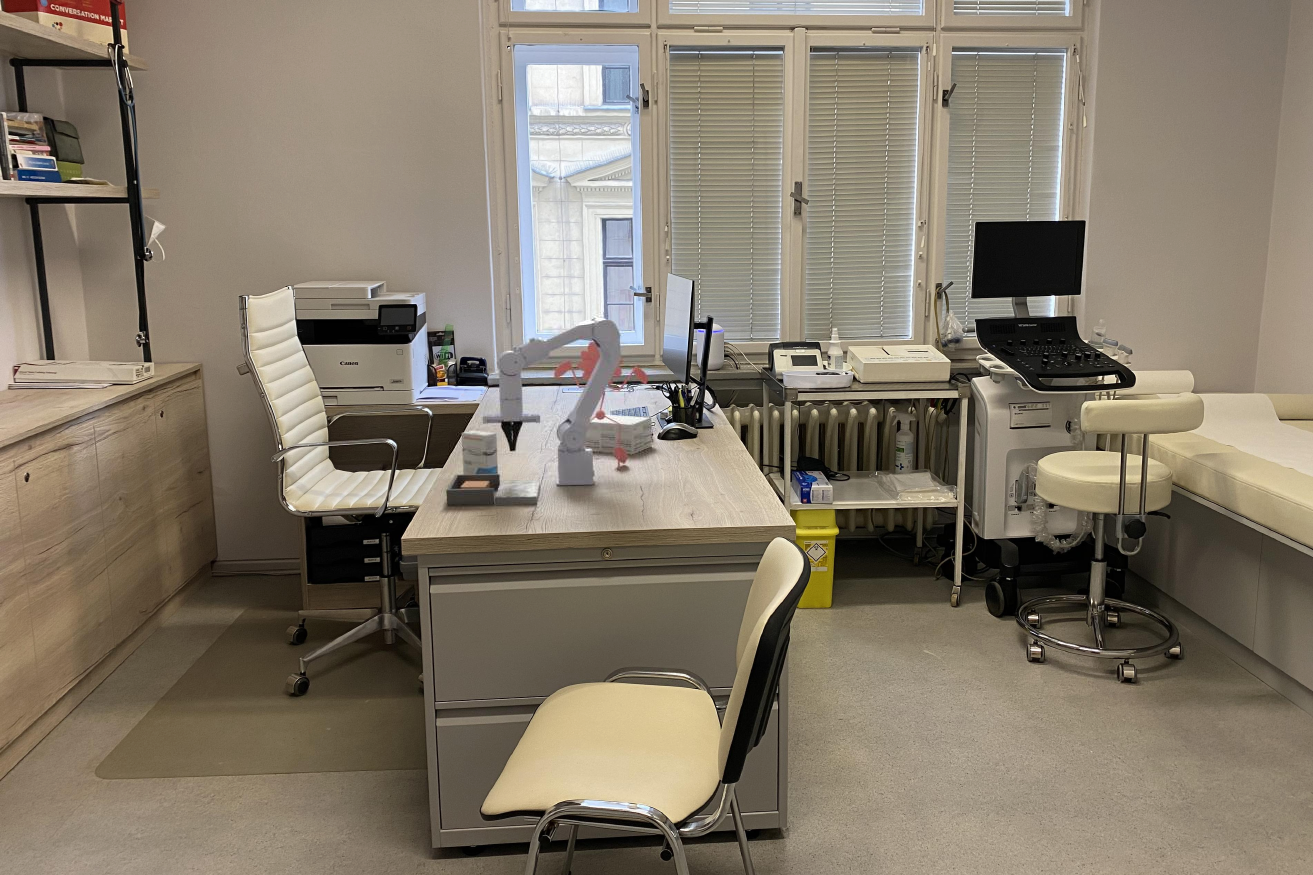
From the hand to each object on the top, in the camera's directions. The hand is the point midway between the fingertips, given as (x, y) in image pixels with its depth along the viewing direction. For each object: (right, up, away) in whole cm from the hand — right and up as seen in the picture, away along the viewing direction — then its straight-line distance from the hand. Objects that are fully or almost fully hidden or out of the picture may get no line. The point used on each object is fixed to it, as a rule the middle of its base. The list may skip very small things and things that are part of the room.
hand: (512, 450), depth 260 cm
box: (-8, -12, -9) cm, 17 cm away
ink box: (-11, -7, +14) cm, 19 cm away
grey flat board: (+3, -11, -9) cm, 15 cm away
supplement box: (+25, 0, +48) cm, 54 cm away
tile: (-8, -11, -8) cm, 16 cm away
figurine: (+22, -5, +26) cm, 34 cm away
